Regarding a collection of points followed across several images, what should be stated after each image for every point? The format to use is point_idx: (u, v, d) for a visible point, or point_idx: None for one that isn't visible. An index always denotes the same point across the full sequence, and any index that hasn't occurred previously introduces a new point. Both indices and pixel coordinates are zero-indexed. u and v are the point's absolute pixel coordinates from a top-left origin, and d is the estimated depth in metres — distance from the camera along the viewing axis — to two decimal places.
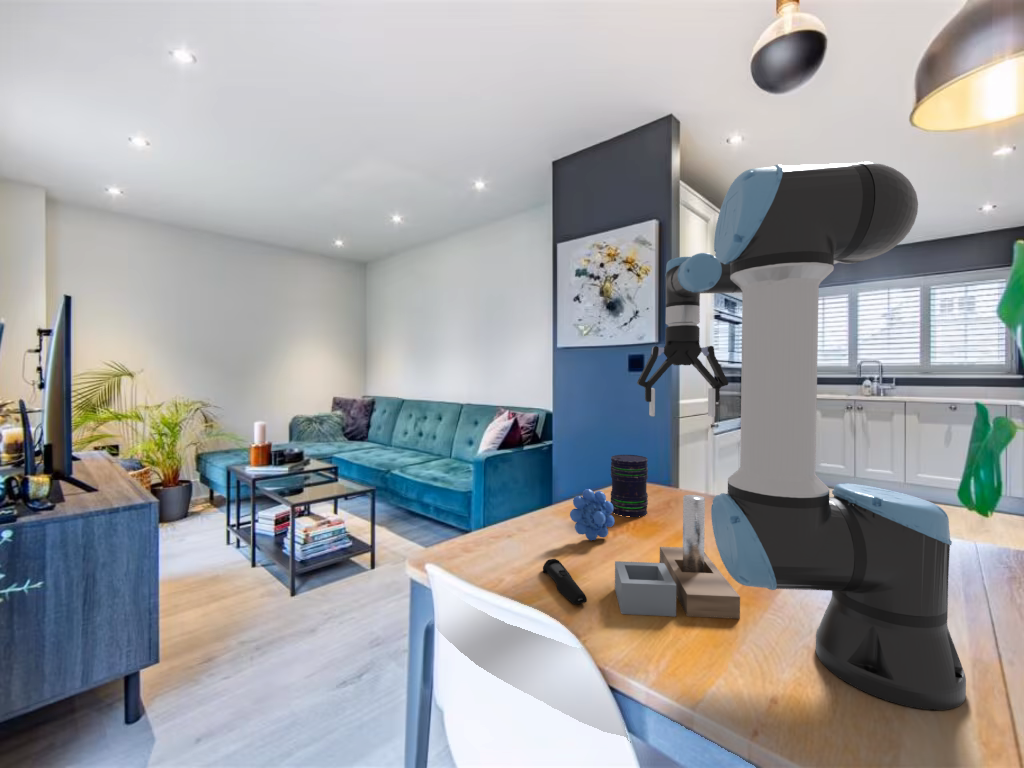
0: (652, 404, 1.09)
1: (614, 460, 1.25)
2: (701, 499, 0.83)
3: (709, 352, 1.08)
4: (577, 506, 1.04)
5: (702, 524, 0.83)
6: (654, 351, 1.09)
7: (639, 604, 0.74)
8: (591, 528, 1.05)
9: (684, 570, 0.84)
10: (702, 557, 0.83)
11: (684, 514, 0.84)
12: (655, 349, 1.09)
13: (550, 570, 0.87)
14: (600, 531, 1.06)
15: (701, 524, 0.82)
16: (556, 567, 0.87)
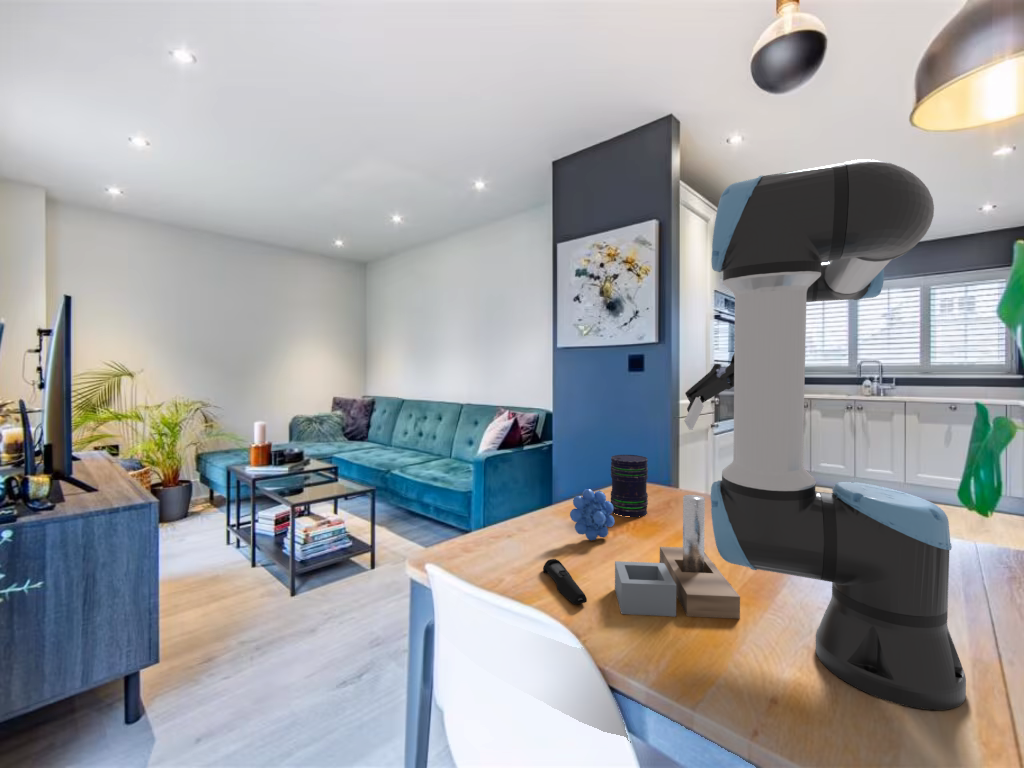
0: (690, 410, 0.96)
1: (614, 460, 1.25)
2: (701, 499, 0.83)
3: None
4: (577, 506, 1.04)
5: (702, 524, 0.83)
6: (713, 368, 1.01)
7: (639, 604, 0.74)
8: (591, 528, 1.05)
9: (684, 570, 0.84)
10: (702, 557, 0.83)
11: (684, 514, 0.84)
12: (715, 366, 1.01)
13: (550, 570, 0.87)
14: (600, 531, 1.06)
15: (701, 524, 0.82)
16: (556, 567, 0.87)
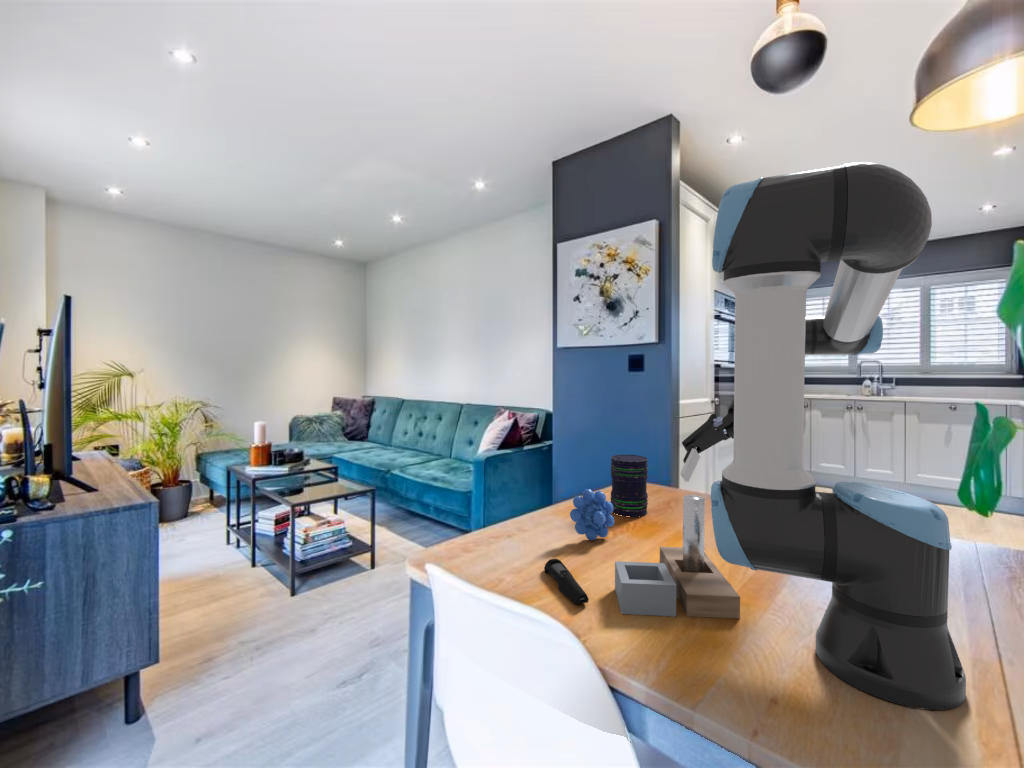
0: (686, 462, 0.96)
1: (614, 460, 1.25)
2: (701, 499, 0.83)
3: None
4: (577, 506, 1.04)
5: (702, 524, 0.83)
6: (710, 417, 1.01)
7: (639, 604, 0.74)
8: (591, 528, 1.05)
9: (684, 570, 0.84)
10: (702, 557, 0.83)
11: (684, 514, 0.84)
12: (711, 416, 1.01)
13: (551, 570, 0.87)
14: (600, 531, 1.06)
15: (701, 524, 0.82)
16: (557, 567, 0.87)
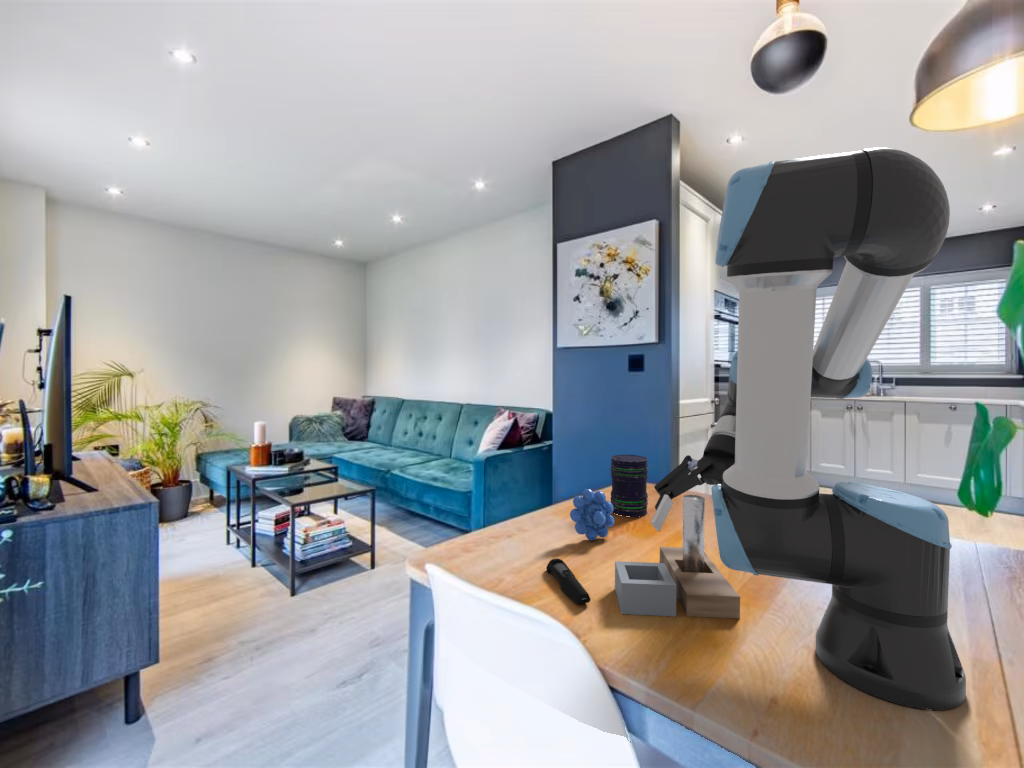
0: (657, 510, 0.89)
1: (614, 460, 1.25)
2: (701, 499, 0.83)
3: None
4: (577, 506, 1.04)
5: (702, 524, 0.83)
6: (684, 459, 0.94)
7: (639, 604, 0.74)
8: (591, 528, 1.05)
9: (684, 570, 0.84)
10: (702, 557, 0.83)
11: (684, 514, 0.84)
12: (686, 458, 0.94)
13: (554, 570, 0.87)
14: (600, 531, 1.06)
15: (701, 524, 0.82)
16: (559, 566, 0.87)
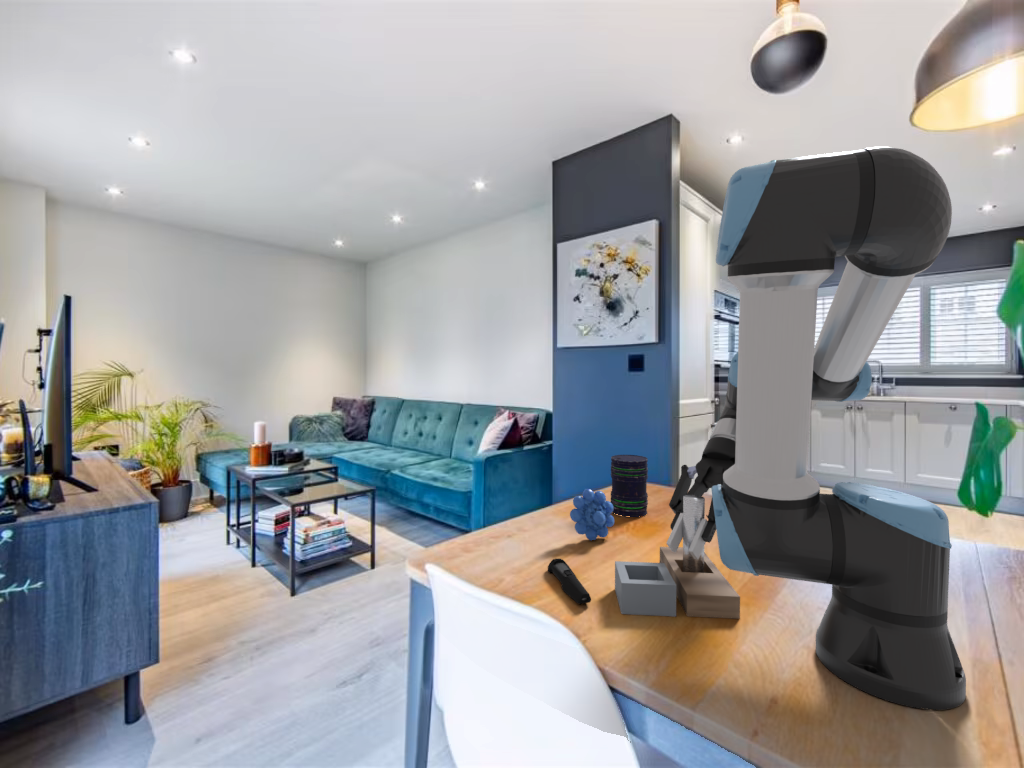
0: (673, 530, 0.84)
1: (614, 460, 1.25)
2: (701, 499, 0.83)
3: None
4: (577, 506, 1.04)
5: None
6: (682, 470, 0.92)
7: (639, 604, 0.74)
8: (591, 528, 1.05)
9: (684, 570, 0.84)
10: (702, 557, 0.83)
11: (684, 514, 0.84)
12: (683, 467, 0.93)
13: (555, 569, 0.87)
14: (600, 531, 1.06)
15: None
16: (560, 566, 0.87)
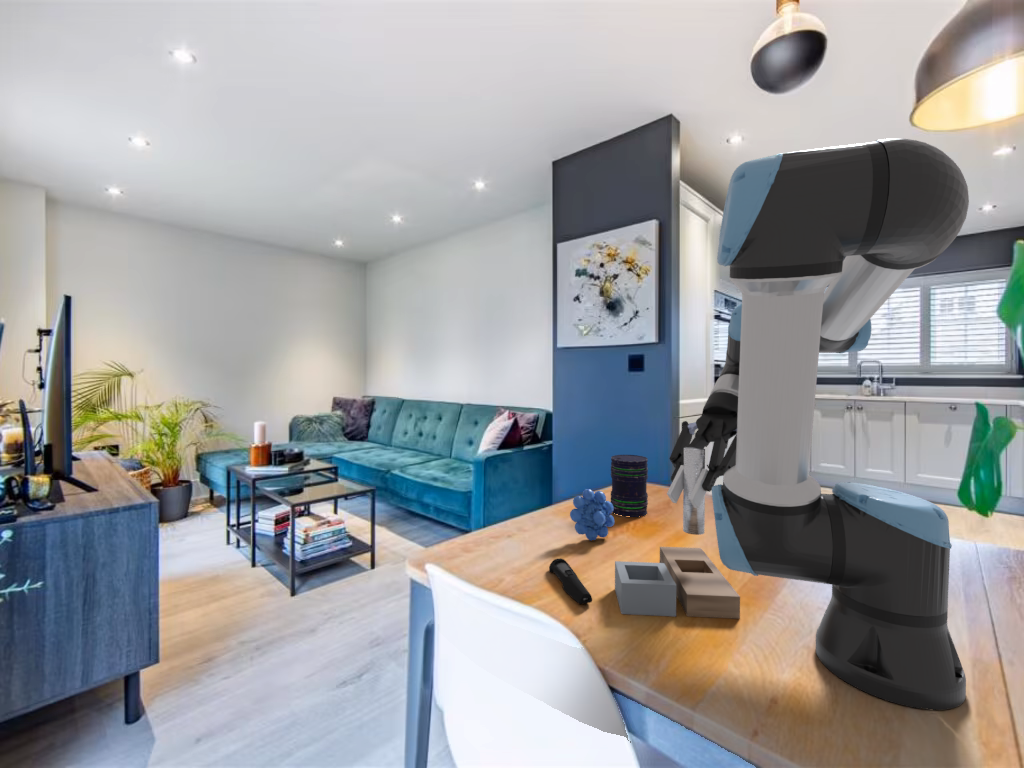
0: (674, 481, 0.84)
1: (614, 460, 1.25)
2: (701, 449, 0.83)
3: None
4: (577, 506, 1.04)
5: None
6: (683, 426, 0.93)
7: (639, 604, 0.74)
8: (591, 528, 1.05)
9: (684, 521, 0.84)
10: (702, 507, 0.83)
11: (684, 465, 0.84)
12: (683, 423, 0.93)
13: (556, 569, 0.87)
14: (600, 531, 1.06)
15: None
16: (562, 566, 0.87)
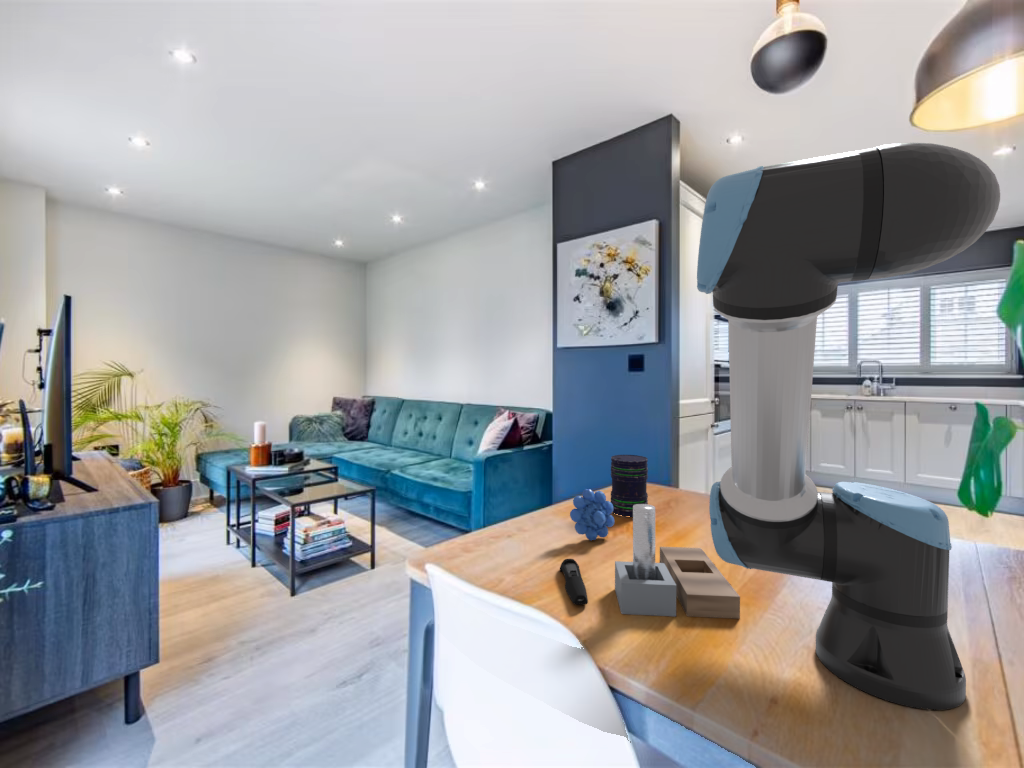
0: None
1: (614, 460, 1.25)
2: (651, 508, 0.77)
3: None
4: (577, 506, 1.04)
5: (652, 535, 0.77)
6: None
7: (639, 604, 0.74)
8: (591, 528, 1.05)
9: None
10: (653, 571, 0.77)
11: (633, 525, 0.78)
12: None
13: (563, 569, 0.87)
14: (600, 531, 1.06)
15: (651, 536, 0.77)
16: (569, 566, 0.87)
